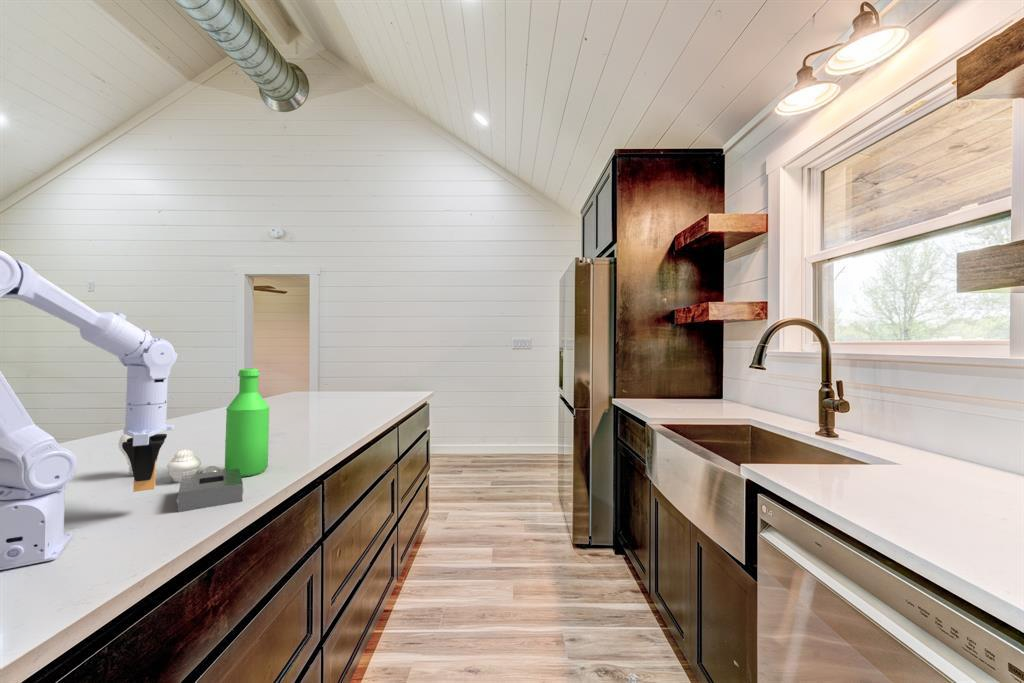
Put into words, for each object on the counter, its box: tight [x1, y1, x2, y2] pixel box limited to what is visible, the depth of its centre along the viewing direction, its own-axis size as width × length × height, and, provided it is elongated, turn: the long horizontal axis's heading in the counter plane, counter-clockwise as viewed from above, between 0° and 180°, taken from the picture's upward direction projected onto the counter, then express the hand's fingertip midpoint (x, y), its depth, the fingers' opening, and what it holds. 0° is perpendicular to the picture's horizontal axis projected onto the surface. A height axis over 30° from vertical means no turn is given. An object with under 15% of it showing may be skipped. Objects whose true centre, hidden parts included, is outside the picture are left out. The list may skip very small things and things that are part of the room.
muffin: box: [166, 448, 202, 483], centre depth 95 cm, size 6×6×7 cm
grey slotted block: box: [176, 465, 244, 513], centre depth 87 cm, size 17×11×4 cm, turn 36°
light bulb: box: [118, 433, 133, 476], centre depth 98 cm, size 7×7×11 cm
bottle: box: [224, 368, 270, 478], centre depth 102 cm, size 9×9×25 cm
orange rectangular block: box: [132, 461, 157, 493], centre depth 77 cm, size 3×3×6 cm
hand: (144, 477), depth 77 cm, fingers closed on orange rectangular block, 3 cm apart
